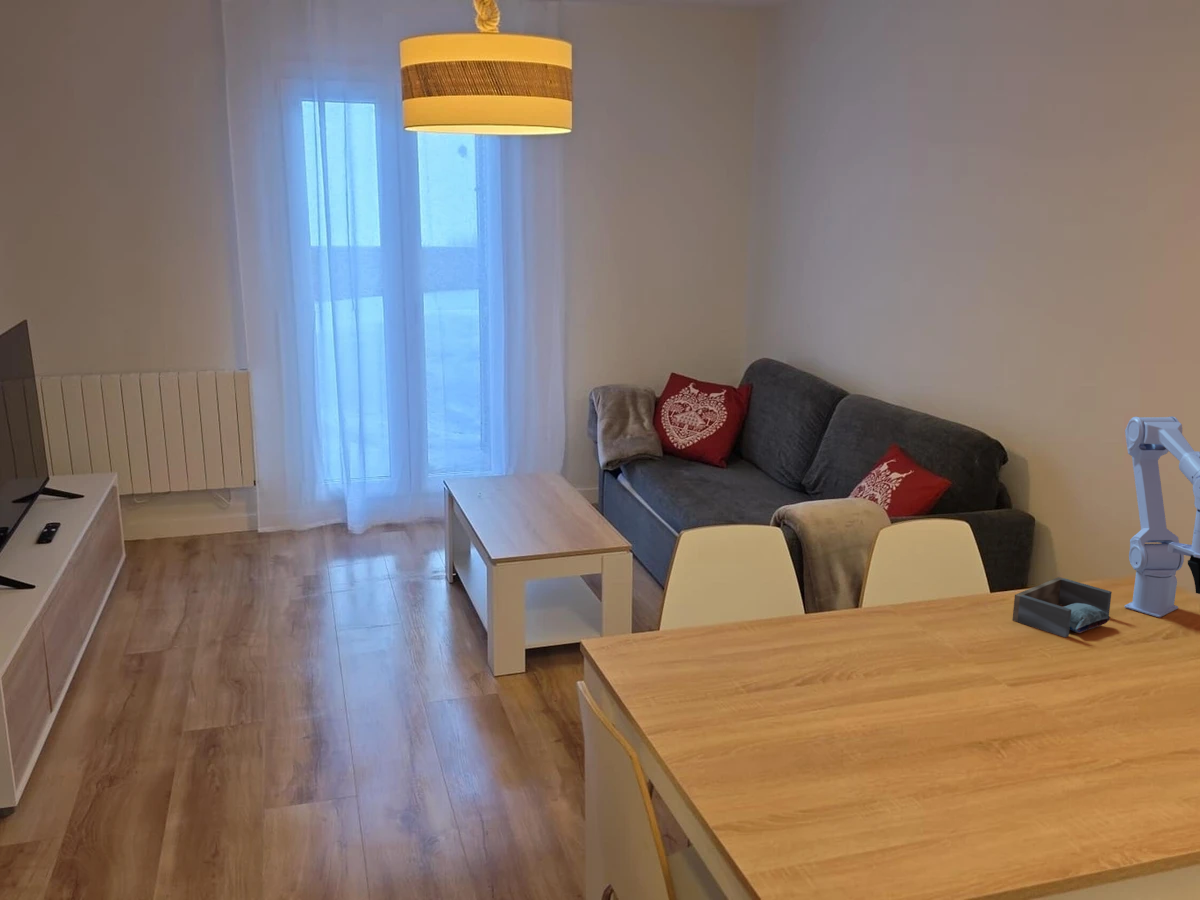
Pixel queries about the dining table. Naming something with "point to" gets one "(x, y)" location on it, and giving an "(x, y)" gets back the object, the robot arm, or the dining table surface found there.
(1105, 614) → the packaged food
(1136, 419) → the robot arm
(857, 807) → the dining table surface
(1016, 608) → the grey u-shaped bracket
